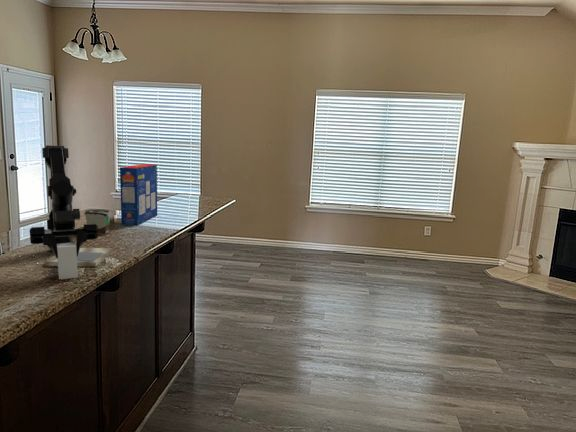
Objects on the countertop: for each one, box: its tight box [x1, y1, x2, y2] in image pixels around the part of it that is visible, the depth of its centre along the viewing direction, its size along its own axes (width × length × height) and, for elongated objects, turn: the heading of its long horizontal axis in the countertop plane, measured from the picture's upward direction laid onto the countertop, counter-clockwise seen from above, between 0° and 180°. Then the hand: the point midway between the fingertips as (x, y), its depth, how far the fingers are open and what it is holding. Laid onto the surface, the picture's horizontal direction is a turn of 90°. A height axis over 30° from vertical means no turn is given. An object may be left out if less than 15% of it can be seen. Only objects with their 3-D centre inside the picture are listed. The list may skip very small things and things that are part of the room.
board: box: [44, 247, 113, 267], centre depth 148 cm, size 16×18×2 cm
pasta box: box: [119, 163, 158, 227], centre depth 216 cm, size 28×8×28 cm, turn 178°
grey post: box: [57, 241, 79, 280], centre depth 129 cm, size 5×5×10 cm
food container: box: [83, 208, 112, 236], centre depth 187 cm, size 12×6×10 cm, turn 74°
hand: (67, 256), depth 128 cm, fingers closed on grey post, 5 cm apart
